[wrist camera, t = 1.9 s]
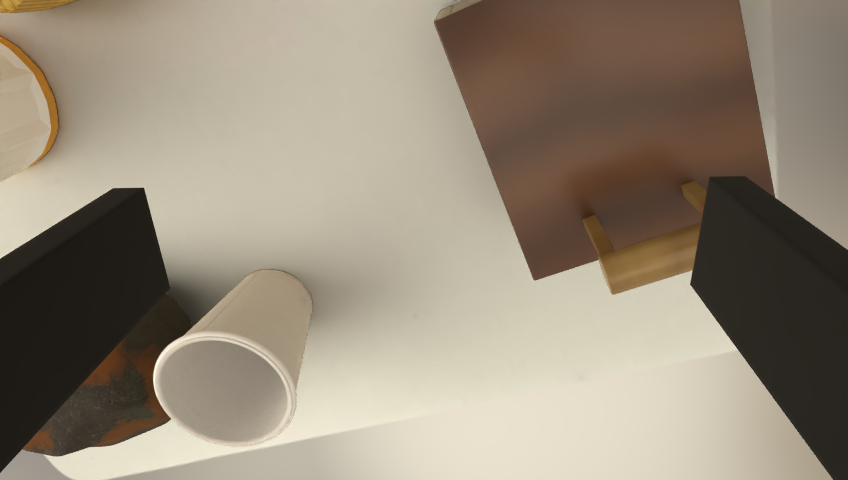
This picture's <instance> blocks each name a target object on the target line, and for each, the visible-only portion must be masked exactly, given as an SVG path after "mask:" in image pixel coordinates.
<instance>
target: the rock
mask: <svg viewBox="0 0 848 480" xmlns="http://www.w3.org/2000/svg"><path fill="white" fill-rule="evenodd" d="M192 327H193V325H192V324H191V322H190V321H189V320H188V318H187V317H186V316H185V314H184V313H183V311H182V310H181V309H180V307H179V306H178V305H177V303H176V302H175V301H174V300H173V298H171V297H170V296H169V295H167V294H164V295H163V296H162V297H161V298H160V300H159V301H158V302H157V303H156V304H155V305H154V306H153V307H152V308H151V309H150V310H149V311H148V313H147V314H146V315H145V316H144V317H143V318H142V319H141V320H140V321H139V322H138V323H137V325H136V326H135V327H134V328H133V329H132V330H131V331H130V332H129V333H128V334H127V335H126V337H125V338H124V339H123V340H122V341H121V342H120V343H119V344H118V345H117V346H116V347H115V348H114V350H113V351H112V352H111V353H110V354H109V355H108V356H107V357H106V358H105V359H104V360H103V362H102V363H101V364H100V365H99V366H98V367H97V368H96V369H95V370H94V371H93V372H92V374H91V375H90V376H89V377H88V378H87V379H86V380H85V381H84V382H83V383H82V384H81V385H80V387H79V388H78V389H77V390H76V391H75V392H74V393H73V394H72V395H71V396H70V397H69V399H68V400H67V401H66V402H65V403H64V404H63V405H62V406H61V407H60V408H59V409H58V410H57V412H56V413H55V414H54V415H53V416H52V417H51V418H50V419H49V420H48V421H47V422H46V424H45V425H44V426H43V427H42V428H41V429H40V430H39V431H38V432H37V433H36V434H35V436H34V437H33V438H32V439H31V440H30V441H29V442H28V443H27V444H26V445H25V446H24V447H23V450H26V451H30V452H35V453H41V454H45V455H50V456H63V455H66V454H70V453H73V452H76V451H79V450H82V449H85V448H88V447H103V446H111V445H115V444H118V443H120V442H123V441H125V440H128V439H130V438H133V437H135V436H137V435H140V434H142V433H145V432H147V431H150V430H152V429H154V428H156V427H159V426H161V425H163V424H165V423H167V422H168V421H169V420H171V418H170V417H169V416H168V414H167V413H166V412H165V411H164V409H163V408H162V406H161V404H160V402H159V400H158V398H157V396H156V393H155V389H154V383H153V373H154V368H155V364H156V362H157V359H158V358H159V356H160V354H161V353H162V352H163V350H164V349H165V348H166V347H167V346H168V345H169V344H171V343H172V342H173V341H175V340H177V339H178V338H180V337H182V336H184V335H185V334H186V333H187V332H188V331H189V330H190V329H191V328H192Z"/></svg>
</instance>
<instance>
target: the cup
mask: <svg viewBox="0 0 848 480" xmlns="http://www.w3.org/2000/svg"><path fill="white" fill-rule="evenodd" d="M58 128H59V124H58V114H57V108H56V103H55V98H54V96H53V94H52V92H51V89H50V87H49V85H48V83H47V81H46V79H45V77H44V75H43V73H42V71H41V70H40V69H39V68H38V67H37V66H36V65H35V63H34V62H33V61H32V60H31V59H30V58H29V57H28V56H27V55H26V54H25V53H24V52H23V51H22V50H21V49H20V48H19V47H17V46H16V45H14V44H13V43H11V42H9V41H8V40H6V39H5V38H3V37H1V36H0V182H1V181H3V180H5V179H7V178H9V177H11V176H12V175H14V174H16V173H18V172H20V171H22V170H24V169H26V168H28V167H30V166H32V165H34V164H36V163H37V162H38V161H39V160H40V159H41V158H43V157H44V156H45V155H46V154H47V152H48V151H49V150H50V149H51V147H52V145H53V142H54V140H55V137H56V134H57V131H58Z"/></svg>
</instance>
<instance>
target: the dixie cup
mask: <svg viewBox="0 0 848 480" xmlns="http://www.w3.org/2000/svg"><path fill="white" fill-rule="evenodd" d="M312 308H313V307H312V300H311V297H310V294H309V292H308V291H307V289H306V288H305V286H304V285H303V284H302V283H301V282H300V281H299V280H297V279H296V278H295V277H293V276H291V275H289V274H287V273H285V272H282V271H278V270H259V271H256V272H253V273H251V274H249V275H248V276H247V277H245V278H244V279H243V280H242V281H241V282H240V283H239V284H238V285H237V286H236V287H235V288H234V289H233V290H232V291H230V292H229V293H228V294H227V295H226V296H225V297H224V298H223V299H222V300H221V301H220V302H219V303H218V304H217V305H216V306H215V307H213V308H212V309H211V310H210V311H209V312H208V313H207V314H206V315H205V316H204V317H203V318H202V319H201V320H200V321H199V322H198V323H196V324H195V325H194V326H193V327H192V328H191V329H190V330H189V331H188V332H187V333H186V334H185V335H184V336H182V337H180V338H178V339H177V340H175V341H173V342H172V343H171V344H169V345H168V346H167V347H166V348H165V349H164V350H163V352H162V353H161V354H160V356H159V358H158V359H157V362H156V364H155V368H154V373H153V383H154V389H155V393H156V396H157V398H158V400H159V402H160V404H161V406H162V408H163V409H164V411H165V412H166V413H167V414H168V416H169V417H170V418H171V419H172V420H173V421H174V422H175V423H176V424H177V425H179V426H180V427H181V428H182V429H184V430H185V431H187V432H188V433H190V434H192V435H194V436H195V437H197V438H200V439H202V440H204V441H207V442H210V443H214V444H218V445H223V446H231V447H245V446H253V445H257V444H261V443H264V442H266V441H269V440H271V439H273V438H274V437H276V436H277V435H279V434H280V433H281V432H282V431H283V430H284V429H285V428H286V427H287V426H288V425H289V423H290V422H291V420H292V418H293V416H294V413H295V410H296V404H297V394H296V387H297V383H298V378H299V373H300V368H301V363H302V358H303V354H304V349H305V344H306V339H307V334H308V329H309V325H310V320H311V315H312Z"/></svg>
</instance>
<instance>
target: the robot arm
mask: <svg viewBox="0 0 848 480" xmlns="http://www.w3.org/2000/svg"><path fill="white" fill-rule="evenodd" d="M690 285H691V286H692V287H693V289H694V290H695V292H696V293H697V294H698V296H699V297H700V298H701V300H702V301H703V302H704V304H705V305H706V307H707V308H708V309H709V311H710V312H711V313H712V315H713V316H714V318H715V319H716V320H717V322H718V323H719V324H720V326H721V327H722V328H723V330H724V331H725V333H726V334H727V335H728V337H729V338H730V339H731V341H732V342H733V343H734V345H735V346H736V348H737V349H738V350H739V352H740V353H741V354H742V356H743V357H744V358H745V360H746V361H747V362H748V364H749V365H750V367H751V368H752V369H753V371H754V372H755V373H756V375H757V376H758V377H759V379H760V380H761V382H762V383H763V384H764V386H765V387H766V389H767V390H768V391H769V393H770V394H771V395H772V396H773V398H774V399H775V401H776V402H777V404H778V405H779V406H780V408H781V409H782V410H783V412H784V413H785V414H786V416H787V417H788V419H789V420H790V421H791V423H792V424H793V425H794V427H795V428H796V429H797V431H798V432H799V434H800V435H801V436H802V438H803V439H804V440H805V442H806V443H807V444H808V446H809V447H810V449H811V450H812V451H813V452H814V454H815V455H816V457H817V458H818V460H819V461H820V462H821V464H822V465H823V466H824V468H825V469H826V470H827V472H828V473H829V474H830V476H831V477H832V478H833V480H848V250H847V249H846V248H844V247H843V246H841V245H840V244H839V243H837V242H836V241H834V240H833V239H831V238H830V237H829V236H827V235H826V234H825V233H823V232H822V231H821V230H819V229H818V228H816V227H815V226H813V225H812V224H811V223H810V222H808V221H807V220H805V219H804V218H803V217H801V216H800V215H798V214H797V213H795V212H794V211H793V210H791V209H790V208H789V207H787V206H786V205H785V204H783V203H782V202H780V201H779V200H778V199H776V198H775V197H773V196H772V195H771V194H769V193H768V192H766V191H765V190H764V189H762V188H761V187H760V186H758V185H757V184H755V183H754V182H753V181H751V180H750V179H748V178H747V177H746V176H723V177H709V182H708V188H707V194H706V199H705V205H704V210H703V216H702V222H701V227H700V233H699V238H698V244H697V250H696V255H695V261H694V266H693V272H692V278H691V283H690ZM169 289H170V285H169V282H168V278H167V274H166V270H165V266H164V263H163V259H162V255H161V251H160V247H159V244H158V240H157V236H156V232H155V228H154V225H153V221H152V217H151V213H150V209H149V206H148V202H147V198H146V194H145V190H144V188H113V189H111V190H110V191H108V192H107V193H105V194H103V195H102V196H100V197H99V198H97V199H95V200H94V201H92V202H91V203H89V204H87V205H86V206H84V207H83V208H81V209H79V210H78V211H76V212H75V213H73V214H71V215H70V216H68V217H67V218H65V219H63V220H62V221H60V222H59V223H57V224H55V225H54V226H52V227H51V228H49V229H47V230H46V231H44V232H42V233H41V234H39V235H38V236H36V237H34V238H33V239H31V240H30V241H28V242H26V243H25V244H23V245H22V246H20V247H18V248H17V249H15V250H14V251H12V252H10V253H9V254H7V255H6V256H4V257H2V258H1V259H0V473H1V471H2V470H3V469H4V468H5V467H6V466H7V465H8V464H9V463H10V461H12V459H13V458H14V457H15V456H16V455H17V454H18V453H19V452H20V451H21V450H22V449H23V447H24V446H25V445H26V444H27V443H28V442H29V441H30V440H31V439H32V438H33V437H34V436H35V434H36V433H37V432H38V431H39V430H40V429H41V428H42V427H43V426H44V425H45V424H46V422H47V421H48V420H49V419H50V418H51V417H52V416H53V415H54V414H55V413H56V412H57V410H58V409H59V408H60V407H61V406H62V405H63V404H64V403H65V402H66V401H67V400H68V399H69V397H70V396H71V395H72V394H73V393H74V392H75V391H76V390H77V389H78V388H79V387H80V385H81V384H82V383H83V382H84V381H85V380H86V379H87V378H88V377H89V376H90V375H91V374H92V372H93V371H94V370H95V369H96V368H97V367H98V366H99V365H100V364H101V363H102V362H103V360H104V359H105V358H106V357H107V356H108V355H109V354H110V353H111V352H112V351H113V350H114V348H115V347H116V346H117V345H118V344H119V343H120V342H121V341H122V340H123V339H124V338H125V337H126V335H127V334H128V333H129V332H130V331H131V330H132V329H133V328H134V327H135V326H136V325H137V323H138V322H139V321H140V320H141V319H142V318H143V317H144V316H145V315H146V314H147V313H148V311H149V310H150V309H151V308H152V307H153V306H154V305H155V304H156V303H157V302H158V301H159V300H160V298H161V297H162V296H163V295H164V294H165V293H166V292H167V291H168V290H169Z"/></svg>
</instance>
